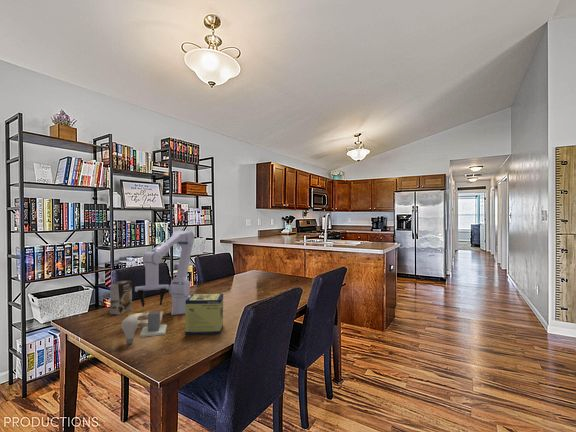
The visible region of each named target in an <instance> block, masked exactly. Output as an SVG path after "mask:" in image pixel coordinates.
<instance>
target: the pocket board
mask: <svg viewBox="0 0 576 432" xmlns="http://www.w3.org/2000/svg"><path fill="white" fill-rule="evenodd" d="M159 311H160V325H162V321H163V317H164V311H162V310H159ZM149 312H150V311H147V312H139V313H137V312H136V313H129V314H128V315H127V317H134V318H136V319H137V321H138V326H137V328H136V329H141V328H142V329H143V327H146V326H148V314H149Z"/></svg>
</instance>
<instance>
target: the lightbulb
mask: <svg viewBox="0 0 576 432" xmlns="http://www.w3.org/2000/svg"><path fill="white" fill-rule="evenodd" d="M137 326H138V321H137V319H136V318H134V317H128V316H126V317H125V318H124V319H123V320H122V322H121V325H120V327H121V330H122V332H123V333H124V336H125V342H126V344H128V345H131V344H132V343H133V342H134V338H135V333H136V331H137V329H138V328H137Z"/></svg>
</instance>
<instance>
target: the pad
mask: <svg viewBox="0 0 576 432" xmlns="http://www.w3.org/2000/svg"><path fill="white" fill-rule="evenodd" d="M167 327H168V325H167V324H166V323H165V324H161V325H160V329H159V331H149V332H148V326H146V327H142V330H141V332H140V335H139V337H140V338H146V337H155V336H164V335H166V331H167Z"/></svg>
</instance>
